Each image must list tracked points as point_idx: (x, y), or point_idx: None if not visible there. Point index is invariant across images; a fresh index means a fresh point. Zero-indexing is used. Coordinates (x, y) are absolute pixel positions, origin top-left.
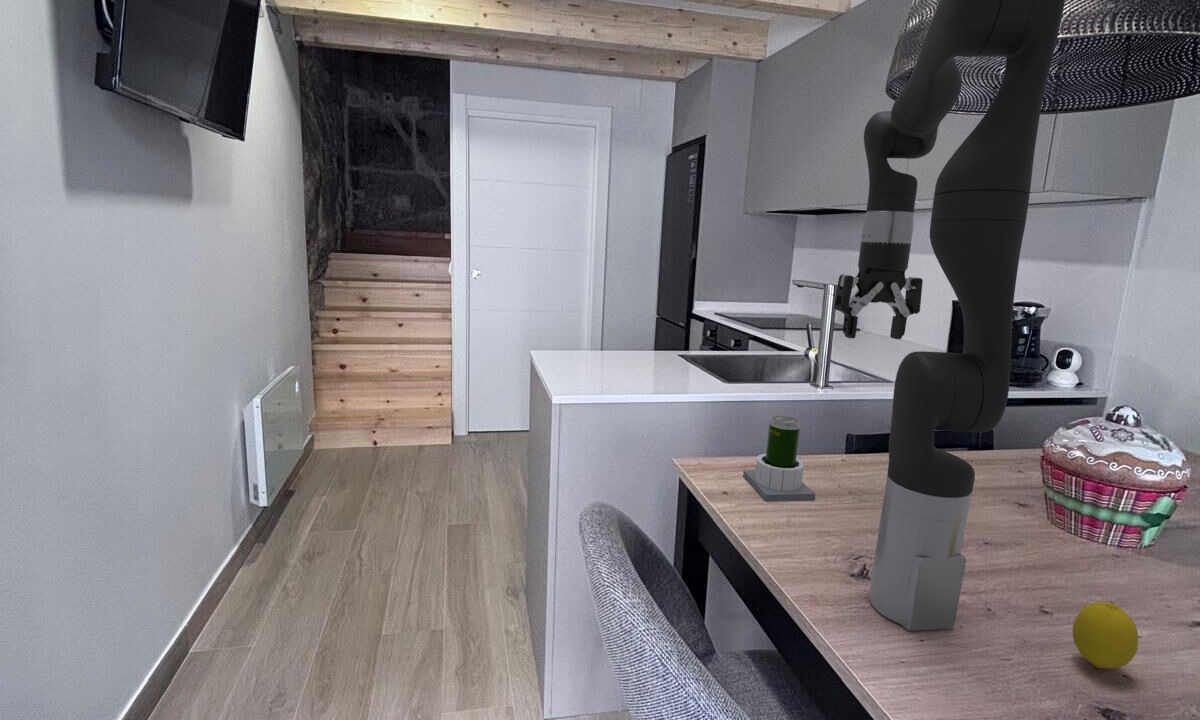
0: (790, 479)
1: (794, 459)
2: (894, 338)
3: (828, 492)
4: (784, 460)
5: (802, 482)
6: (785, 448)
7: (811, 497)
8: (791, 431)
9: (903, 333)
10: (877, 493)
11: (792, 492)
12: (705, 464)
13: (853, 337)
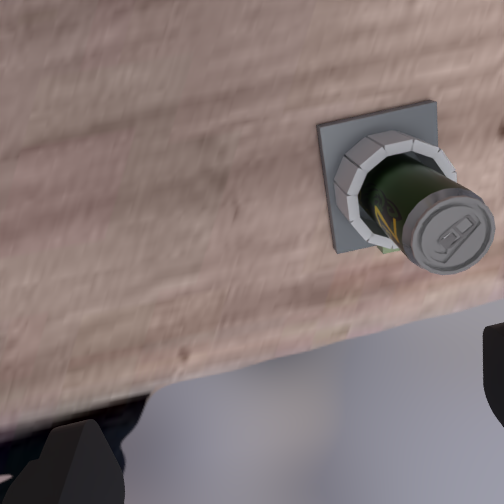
0: (385, 138)
1: (384, 177)
2: (106, 444)
3: (270, 174)
4: (413, 164)
5: (328, 187)
6: (428, 172)
7: (325, 124)
8: (440, 187)
9: (23, 478)
10: (159, 189)
11: (370, 125)
12: (494, 273)
13: (502, 323)
